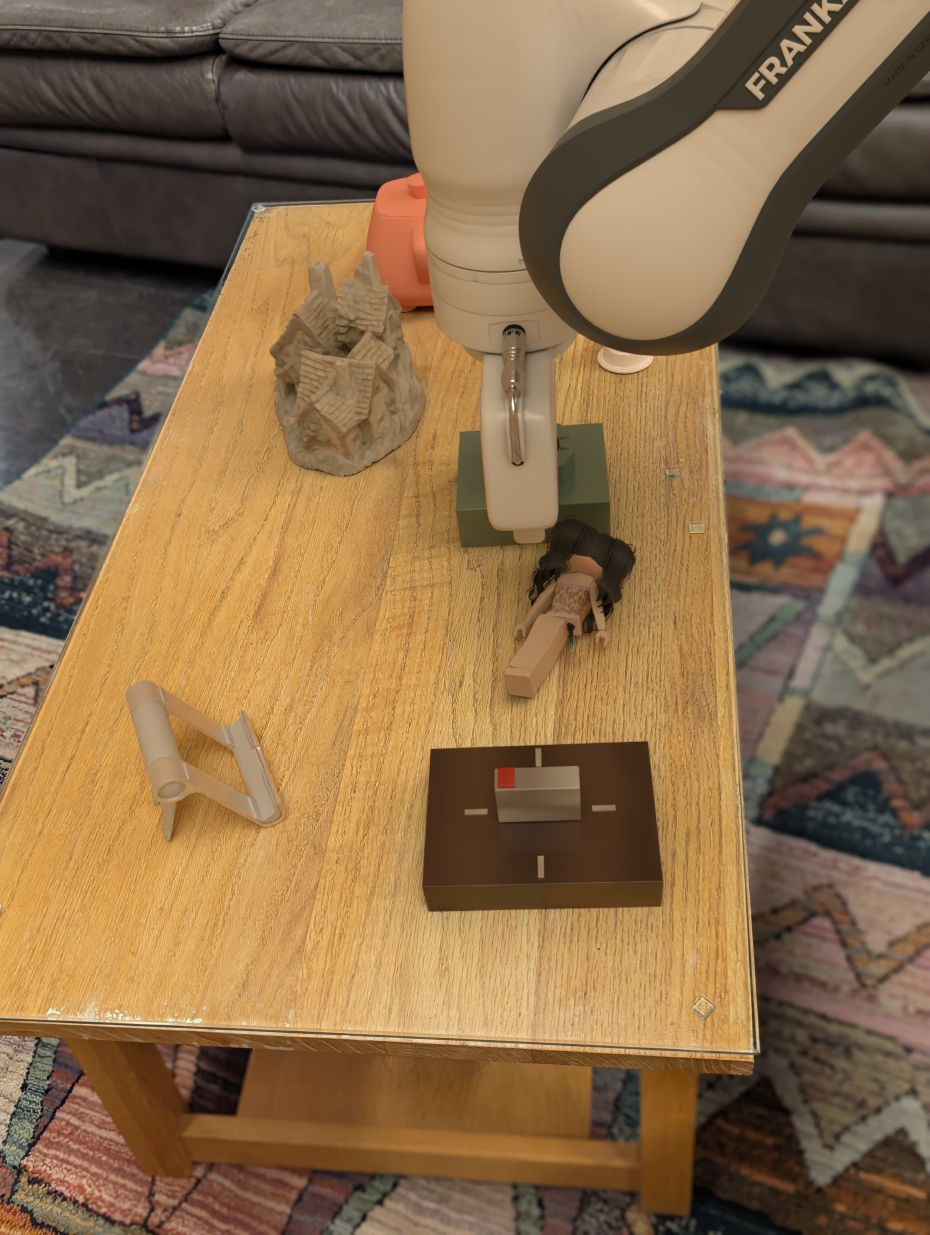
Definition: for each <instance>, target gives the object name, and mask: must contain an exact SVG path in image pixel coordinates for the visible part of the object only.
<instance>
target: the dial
mask: <svg viewBox="0 0 930 1235" xmlns="http://www.w3.org/2000/svg"><path fill="white" fill-rule="evenodd" d="M494 790H495V798H496V805H497V812H498V819H499V822H527V821H562V820H581V798H580V776H579V767H578V766H562V767H532V768H514V767H511V768H498V769H495V789H494Z"/></svg>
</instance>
